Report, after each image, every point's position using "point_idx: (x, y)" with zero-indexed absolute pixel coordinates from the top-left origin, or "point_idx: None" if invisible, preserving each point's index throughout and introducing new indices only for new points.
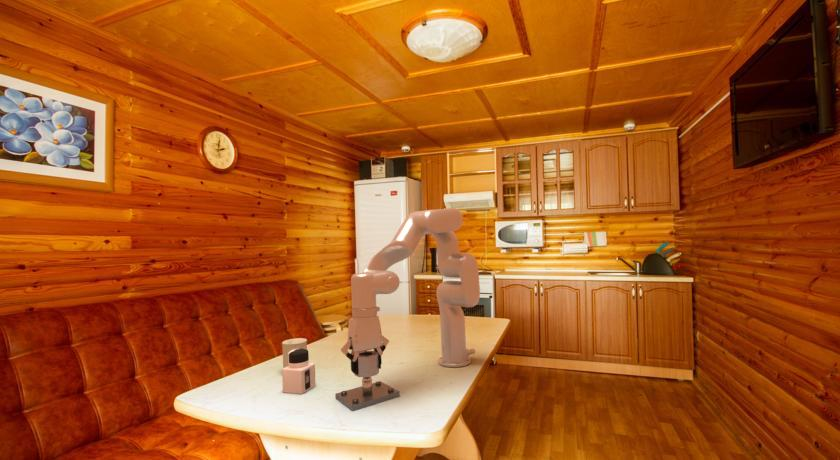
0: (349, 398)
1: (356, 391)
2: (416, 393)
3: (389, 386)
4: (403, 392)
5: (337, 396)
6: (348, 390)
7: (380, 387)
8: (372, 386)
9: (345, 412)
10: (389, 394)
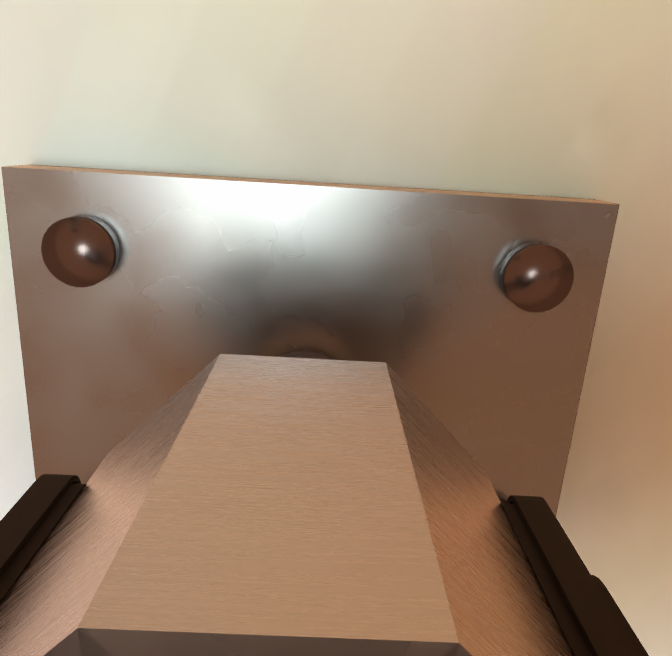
0: (87, 403)
1: (228, 290)
2: (662, 588)
3: (566, 420)
4: (610, 503)
5: (16, 227)
6: (170, 190)
7: (485, 377)
8: (443, 288)
9: (9, 509)
10: None
